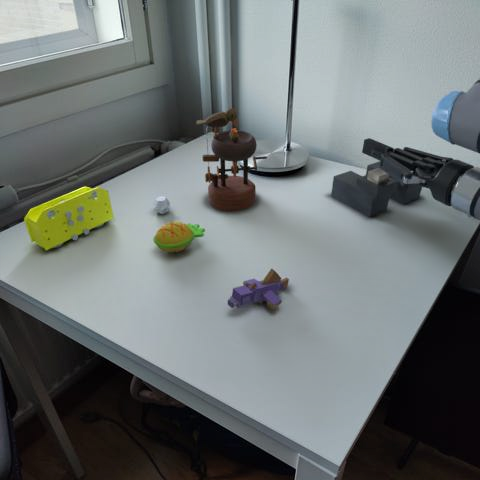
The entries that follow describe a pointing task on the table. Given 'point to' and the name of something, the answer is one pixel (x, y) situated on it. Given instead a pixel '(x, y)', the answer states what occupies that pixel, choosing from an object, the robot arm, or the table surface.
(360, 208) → the high key block
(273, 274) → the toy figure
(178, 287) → the table surface
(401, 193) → the low key block
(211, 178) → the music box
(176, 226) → the toy pineapple
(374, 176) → the high key
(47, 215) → the yellow toy chassis
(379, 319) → the table surface
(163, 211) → the game die
